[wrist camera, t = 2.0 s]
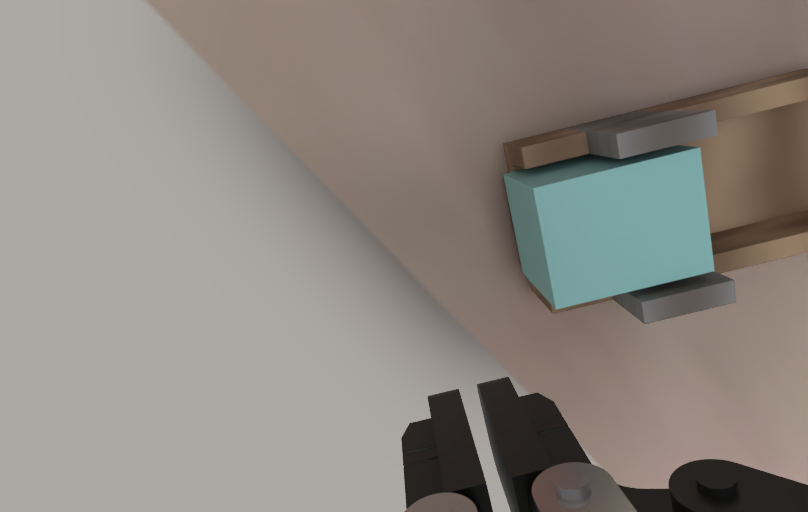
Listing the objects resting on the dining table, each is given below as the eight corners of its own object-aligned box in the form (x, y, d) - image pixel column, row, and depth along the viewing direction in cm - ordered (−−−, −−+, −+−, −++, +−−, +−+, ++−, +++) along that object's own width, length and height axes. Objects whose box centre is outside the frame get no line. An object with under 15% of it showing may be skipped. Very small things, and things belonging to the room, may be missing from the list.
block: (637, 140, 30) (700, 147, 24) (651, 241, 31) (714, 271, 25) (502, 174, 30) (533, 188, 24) (522, 273, 31) (555, 309, 25)
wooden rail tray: (805, 69, 30) (939, 54, 23) (816, 221, 32) (943, 251, 25) (503, 143, 31) (542, 152, 23) (532, 289, 33) (576, 340, 25)
